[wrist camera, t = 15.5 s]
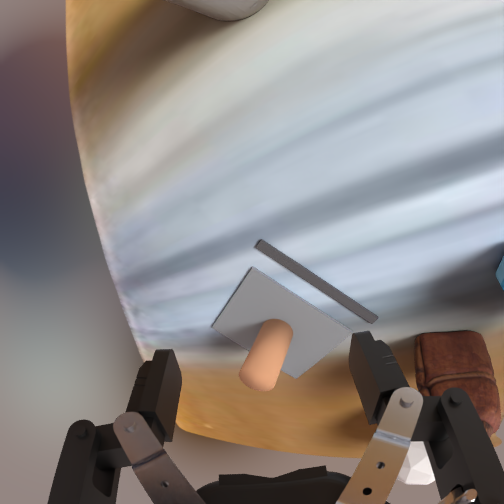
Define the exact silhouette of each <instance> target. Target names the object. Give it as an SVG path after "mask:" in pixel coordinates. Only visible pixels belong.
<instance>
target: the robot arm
mask: <svg viewBox="0 0 504 504" xmlns="http://www.w3.org/2000/svg"><path fill="white" fill-rule="evenodd" d="M164 1H167V2H170V3H173V4H176V5H179V6H182V7H185V8H188V9H190V10H193V11H195V12H198V13H201V14H203V15H206V16H208V17H211V18H214V19H216V20H222V21H234V20H239V19H243V18H246V17H248V16H251V15H252V14H254V13H256V12H257V11H259V10H260V9H261V8H262V7H263V6H265V5H266V3H267V2H268V1H269V0H164ZM349 367H350V371H351V374H352V376H353V379H354V382H355V385H356V388H357V390H358V393H359V396H360V399H361V402H362V405H363V408H364V411H365V414H366V417H367V419H368V422H369V425H371V424H376V423H377V425H378V428H377V430H376V432H375V433H374V435H373V437H372V439H371V441H370V443H369V445H368V447H367V449H366V451H365V453H364V455H363V457H362V459H361V461H360V462H359V464H358V466H357V468H356V470H355V472H354V473H353V475H352V477H349V476H346V475H344V474H341V473H337V472H329V471H327V470H326V466H319V467H313V468H306V469H299V470H296V471H294V472H290V473H287V474H284V475H281V476H278V477H275V478H267V477H261V476H254V475H248V474H232V475H231V474H230V475H229V474H228V475H219V481H215V482H212V483H209V484H207V485H205V486H203V487H201V488H200V489H198V490H197V491H195V490H194V488H193V487H192V486H191V485H190V484H189V482H188V481H187V480H186V478H185V477H184V476H183V475H182V473H181V472H180V470H179V469H178V468H177V466H176V465H175V464H174V463H173V461H172V459H171V458H170V457H169V455H168V454H167V452H166V451H165V450H164V449H163V445H164V442H165V441H166V442H172V439H173V433H174V427H175V421H176V415H177V409H178V403H179V397H180V391H181V386H182V376H181V371H180V368H179V365H178V362H177V360H176V357H175V354H174V351H173V350H172V349H160V350H156V351H155V353H154V356H153V360H152V361H145V363H144V364H143V365H142V366H141V367H140V368H139V371H138V374H137V379H136V381H135V384H134V385H135V386H134V387H133V390H132V394H131V397H130V400H129V403H128V406H127V409H126V412H125V413H123V414H121V415H119V416H118V417H117V418H116V420H115V422H114V423H111V424H106V425H101V426H94V424H93V423H92V422H91V421H88V420H79V421H76V422H75V423H73V424H72V425H71V426H70V428H69V430H68V433H67V436H66V439H65V442H64V445H63V449H62V452H61V455H60V459H59V462H58V466H57V469H56V473H55V476H54V480H53V484H52V488H51V492H50V496H49V500H48V504H116V497H117V490H118V483H119V477H120V471H121V467H127V466H132V469H133V471H134V472H135V474H136V476H137V478H138V479H139V481H140V483H141V484H142V486H143V487H144V489H145V491H146V492H147V494H148V495H149V497H150V498H151V500H152V501H153V503H154V504H390V503H388V502H387V501H386V500H387V498H388V496H389V494H390V491H391V490H392V487H393V485H394V483H395V481H396V479H397V476H398V474H399V472H400V469H401V467H402V465H403V462H404V460H405V457H406V455H407V452H408V450H409V447H410V444H411V442H415V441H423V443H424V446H425V449H426V452H427V455H428V458H429V461H430V464H431V467H432V471H433V474H434V477H435V480H436V484H437V487H438V491H439V494H440V498H441V501H440V502H439V503H438V504H504V471H503V469H502V466H501V463H500V461H499V459H498V456H497V454H496V452H495V449H494V447H493V445H492V442H491V440H490V438H489V436H488V434H487V432H486V429H485V427H484V425H483V423H482V421H481V419H480V417H479V415H478V413H477V411H476V409H475V407H474V405H473V403H472V401H471V399H470V397H469V395H468V394H467V393H466V392H465V391H464V390H463V389H460V388H456V387H452V388H448V389H447V390H445V391H444V392H443V394H442V396H423V395H421V394H420V392H419V391H417V390H416V389H413V388H410V386H409V385H408V383H407V381H406V379H405V377H404V375H403V373H402V371H401V369H400V367H399V365H398V363H397V361H396V359H395V357H394V356H393V353H392V351H391V350H390V348H389V346H388V345H386V344H385V343H384V342H383V341H382V340H377V341H375V340H374V338H373V336H372V334H371V333H370V331H364V332H358V333H353V334H352V339H351V346H350V353H349Z"/></svg>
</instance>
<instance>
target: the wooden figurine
mask: <svg viewBox="0 0 504 504" xmlns="http://www.w3.org/2000/svg"><path fill="white" fill-rule="evenodd" d="M414 355H415V370H416V383H417V388H418V390H419V392H420V394H421V395H423V396H442V394H443V392H444V391H445V390H447V389H448V388H452V387H456V388H460V389H463V390H464V391H465V392H466V393H467V394H468V395H469V397H470V399H471V401H472V403H473V405H474V407H475V409H476V411H477V413H478V415H479V417H480V419H481V421H482V423H483V425H484V427H485V429H486V432H487V434H488V436H489V438H490V437H491V435H492V434H493V433H495V432H496V431H497V430H498V429H499V426H500V421H501V410H500V398H499V393H498V388H497V385H496V380H495V378H494V371H493V367H492V363H491V359H490V356H489V353H488V351H487V348H486V344H485V341H484V339H483V337H482V335H481V334H479V333H477V332H473V331H457V332H439V333H423V334H421V335H419V336H418V337H416V339H415V350H414Z"/></svg>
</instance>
